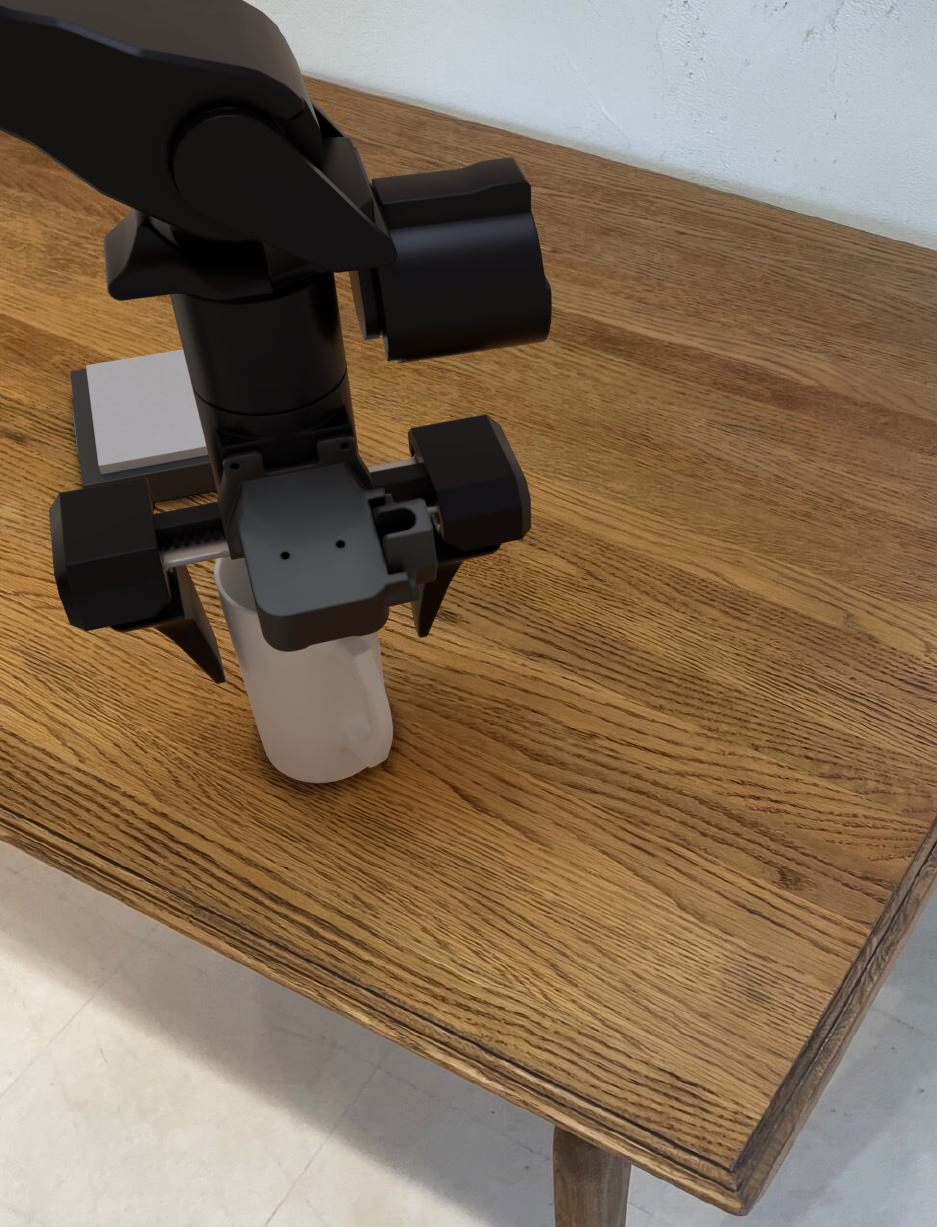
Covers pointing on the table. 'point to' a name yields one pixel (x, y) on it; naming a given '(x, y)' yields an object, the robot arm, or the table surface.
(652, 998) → the table surface
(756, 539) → the table surface
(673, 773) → the table surface
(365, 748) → the mug
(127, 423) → the scale
